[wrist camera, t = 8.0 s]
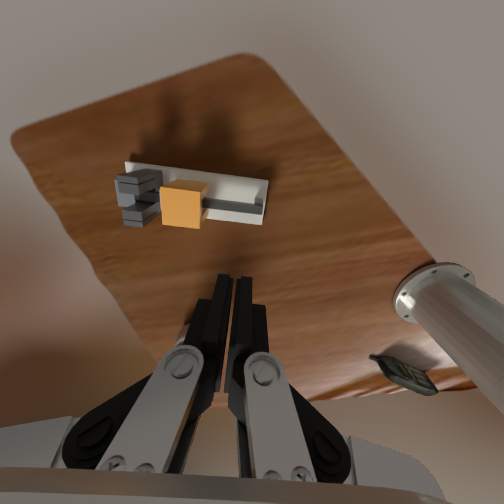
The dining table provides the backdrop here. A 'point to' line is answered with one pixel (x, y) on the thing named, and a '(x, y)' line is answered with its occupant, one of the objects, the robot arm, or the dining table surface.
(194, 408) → the robot arm
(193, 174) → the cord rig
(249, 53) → the dining table surface
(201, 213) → the orange bracket
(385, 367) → the mobile phone
